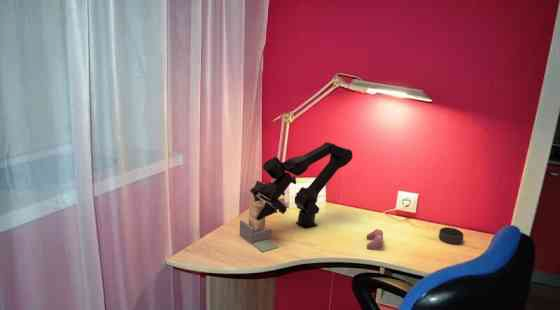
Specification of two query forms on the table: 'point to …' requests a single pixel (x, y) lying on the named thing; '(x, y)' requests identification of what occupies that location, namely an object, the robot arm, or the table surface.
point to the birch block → (256, 215)
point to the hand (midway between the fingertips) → (253, 217)
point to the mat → (265, 245)
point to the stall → (253, 233)
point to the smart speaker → (451, 235)
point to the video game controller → (375, 239)
